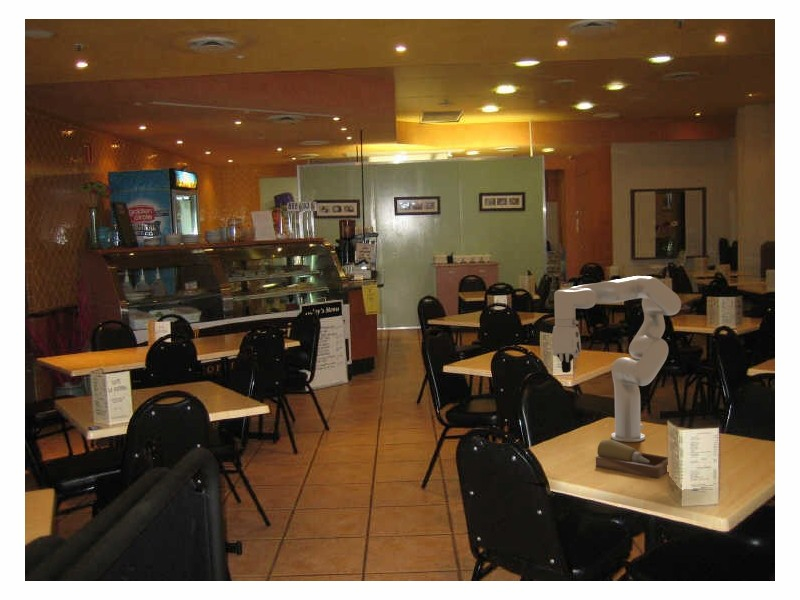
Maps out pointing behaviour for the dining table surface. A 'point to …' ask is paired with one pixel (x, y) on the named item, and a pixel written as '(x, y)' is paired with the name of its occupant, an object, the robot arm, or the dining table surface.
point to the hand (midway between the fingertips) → (566, 371)
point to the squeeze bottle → (620, 452)
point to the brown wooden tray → (636, 465)
